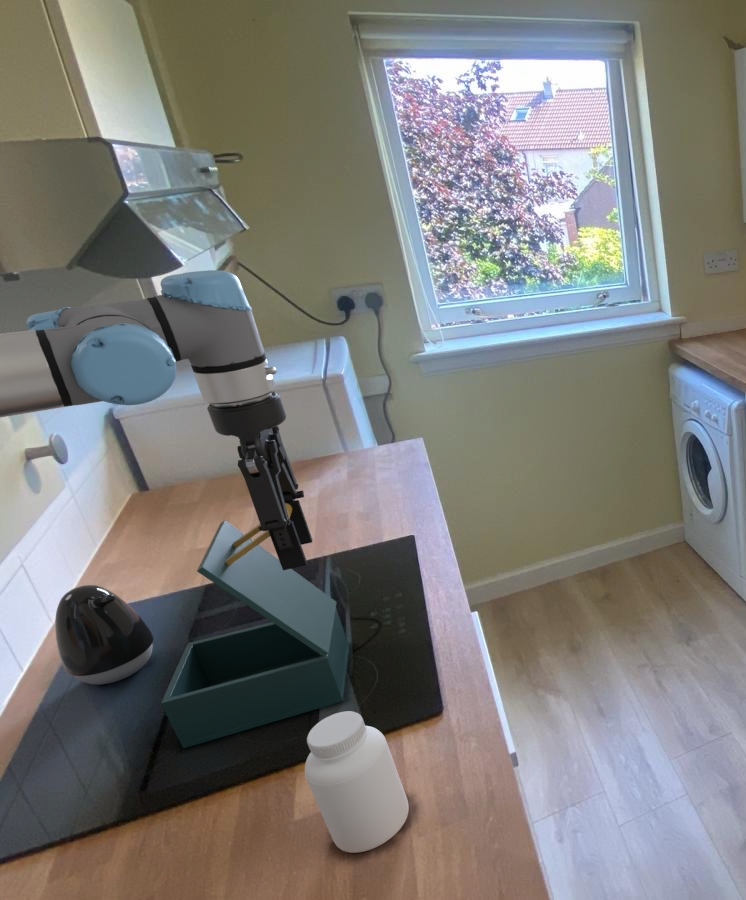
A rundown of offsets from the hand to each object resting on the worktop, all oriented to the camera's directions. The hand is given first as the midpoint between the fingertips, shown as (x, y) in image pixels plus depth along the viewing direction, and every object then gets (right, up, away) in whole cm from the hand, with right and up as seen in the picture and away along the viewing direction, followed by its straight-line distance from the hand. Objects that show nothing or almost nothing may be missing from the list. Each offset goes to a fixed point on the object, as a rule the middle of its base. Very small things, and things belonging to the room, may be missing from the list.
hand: (298, 554), depth 101 cm
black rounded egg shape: (-34, -20, +11) cm, 41 cm away
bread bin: (-7, -21, +5) cm, 23 cm away
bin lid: (-4, -5, 0) cm, 6 cm away
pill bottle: (+20, -30, -16) cm, 39 cm away
